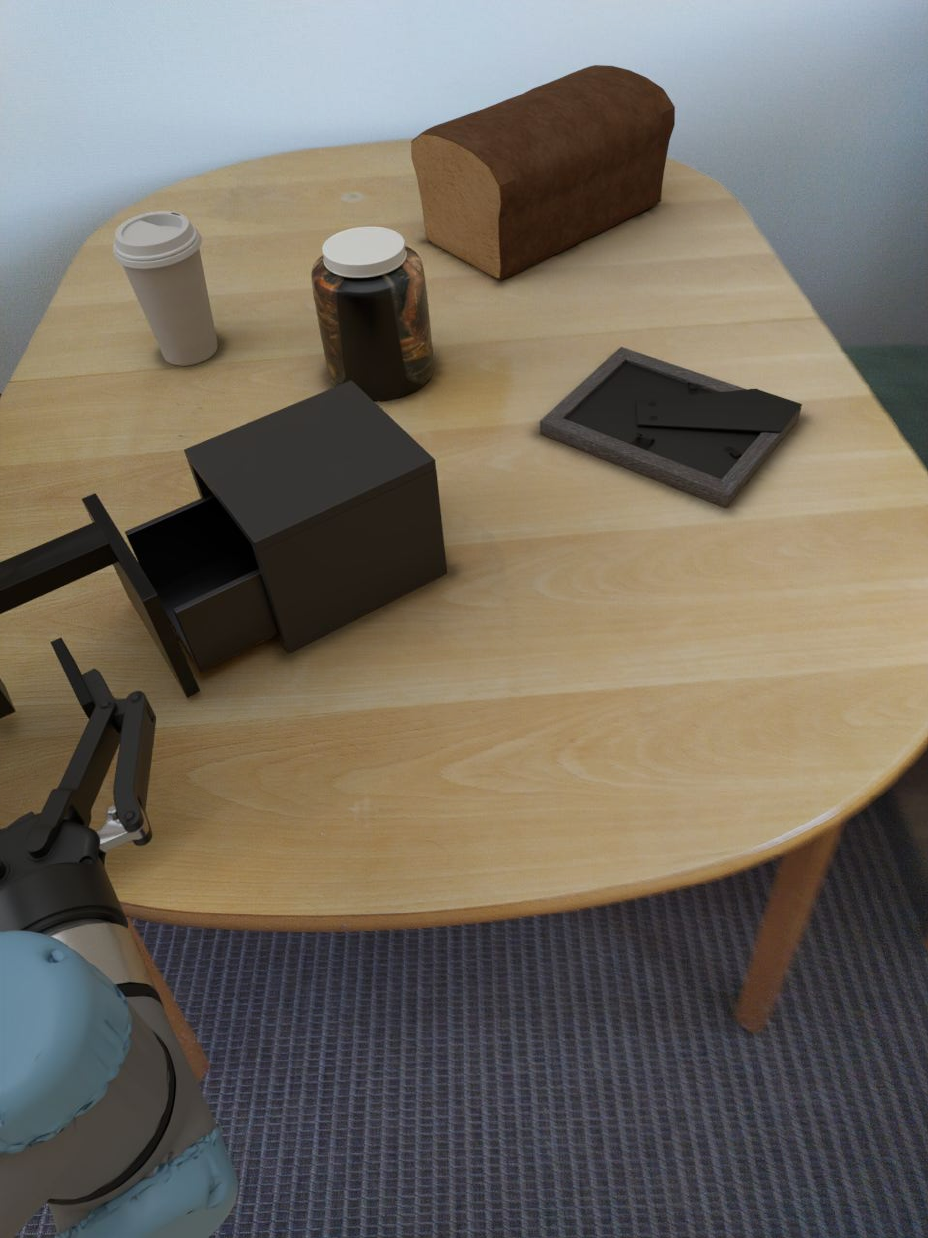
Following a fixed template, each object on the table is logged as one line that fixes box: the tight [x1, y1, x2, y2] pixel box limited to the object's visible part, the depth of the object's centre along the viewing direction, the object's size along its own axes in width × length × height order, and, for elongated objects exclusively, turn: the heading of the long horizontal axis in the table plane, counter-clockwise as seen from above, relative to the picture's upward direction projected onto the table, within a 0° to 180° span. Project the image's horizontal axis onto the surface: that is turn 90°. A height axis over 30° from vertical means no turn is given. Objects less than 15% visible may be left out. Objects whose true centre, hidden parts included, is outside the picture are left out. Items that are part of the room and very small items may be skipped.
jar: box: [310, 225, 435, 401], centre depth 101 cm, size 12×12×15 cm
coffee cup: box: [112, 210, 219, 367], centre depth 107 cm, size 10×10×15 cm
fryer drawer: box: [0, 493, 279, 720], centre depth 76 cm, size 30×14×13 cm, turn 123°
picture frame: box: [539, 346, 803, 509], centre depth 96 cm, size 16×2×21 cm
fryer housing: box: [183, 380, 448, 654], centre depth 82 cm, size 16×14×13 cm
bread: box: [410, 64, 676, 280], centre depth 122 cm, size 18×30×16 cm, turn 129°
